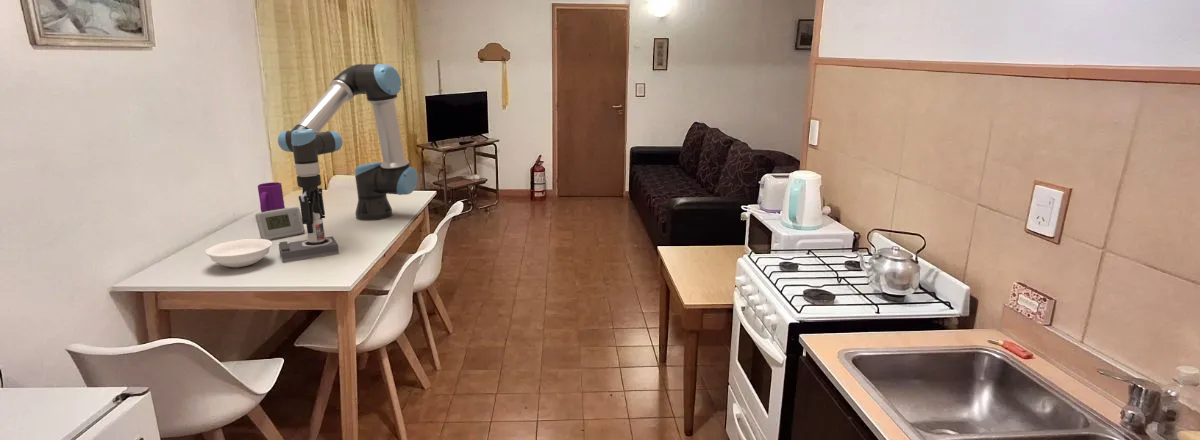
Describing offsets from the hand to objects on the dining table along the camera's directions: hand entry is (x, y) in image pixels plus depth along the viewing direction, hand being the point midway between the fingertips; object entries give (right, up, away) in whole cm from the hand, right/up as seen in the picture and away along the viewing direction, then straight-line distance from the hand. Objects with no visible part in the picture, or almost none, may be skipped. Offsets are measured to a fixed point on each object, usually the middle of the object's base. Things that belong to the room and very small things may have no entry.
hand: (316, 238), depth 226 cm
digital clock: (-23, 0, +21) cm, 31 cm away
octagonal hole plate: (-3, -5, 0) cm, 6 cm away
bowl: (-20, -9, -11) cm, 25 cm away
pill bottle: (0, -1, 0) cm, 1 cm away
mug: (-40, +6, +46) cm, 61 cm away
